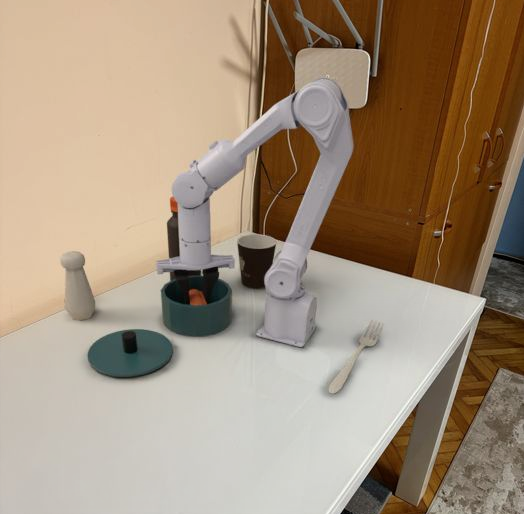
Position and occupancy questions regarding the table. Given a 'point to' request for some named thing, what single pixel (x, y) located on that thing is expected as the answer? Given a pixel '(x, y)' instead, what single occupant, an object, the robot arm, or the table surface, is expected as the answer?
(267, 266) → the coffee mug
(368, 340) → the fork
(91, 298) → the salt shaker
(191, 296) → the hot dog
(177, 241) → the bottle
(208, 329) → the pot
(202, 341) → the table surface
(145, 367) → the pot lid
